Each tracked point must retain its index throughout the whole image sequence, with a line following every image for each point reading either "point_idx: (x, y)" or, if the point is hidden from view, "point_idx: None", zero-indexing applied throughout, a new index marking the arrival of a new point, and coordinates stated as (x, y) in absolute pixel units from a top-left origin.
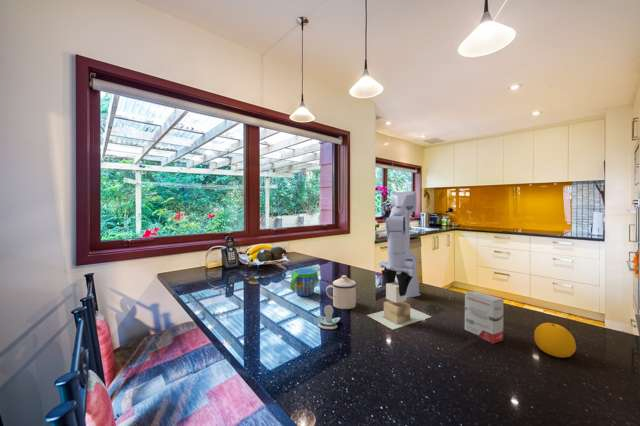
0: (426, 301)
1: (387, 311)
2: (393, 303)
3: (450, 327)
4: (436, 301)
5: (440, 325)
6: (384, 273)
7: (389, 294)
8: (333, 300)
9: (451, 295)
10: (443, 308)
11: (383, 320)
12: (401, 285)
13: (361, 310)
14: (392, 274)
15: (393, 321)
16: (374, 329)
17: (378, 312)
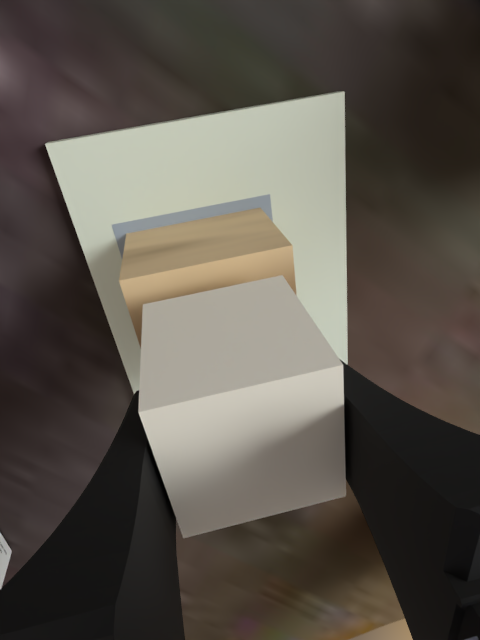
0: (337, 521)
1: (231, 232)
2: None
3: (36, 475)
4: (315, 552)
5: (69, 449)
6: (474, 481)
7: (245, 312)
8: None
9: (333, 616)
10: (238, 543)
11: (207, 168)
12: (85, 490)
13: (451, 119)
14: (405, 561)
15: (162, 227)
16: (115, 10)
17: (338, 212)
